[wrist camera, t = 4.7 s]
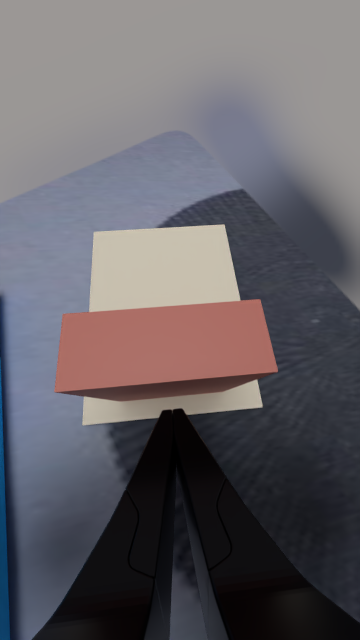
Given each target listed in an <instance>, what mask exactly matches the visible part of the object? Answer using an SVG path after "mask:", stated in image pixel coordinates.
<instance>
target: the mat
mask: <svg viewBox="0 0 360 640" xmlns="http://www.w3.org/2000/svg"><path fill="white" fill-rule="evenodd" d="M231 301H240V297H239V292H238V287H237V282H236V278H235V273H234V268H233V263H232V259H231V254H230V249H229V244H228V240H227V235H226V230H225V225H209V226H191V227H174V228H156V229H138V230H120V231H103V232H94V241H93V257H92V274H91V290H90V307H89V312H97V311H110V310H123V309H137V308H150V307H164V306H177V305H190V304H204V303H217V302H231ZM261 407H263V406H262V401H261V396H260V391H259V387H258V382H257V380H254V381H251V382H249V383H246V384H243V385H240V386H238V387H235V388H232V389H230V390H227V391H224V392H217V393H207V394H196V395H186V396H175V397H165V398H154V399H144V400H133V401H123V402H119V401H112V400H105V399H98V398H91V397H84V406H83V423H82V425H91V424H101V423H111V422H121V421H131V420H141V419H151V418H159V416H160V414H161V412H162V410H167V409H171V410H172V412H173V409H177V408H182V409H183V410H184V411H185V413H186V415H191V414H201V413H211V412H221V411H231V410H241V409H251V408H261Z"/></svg>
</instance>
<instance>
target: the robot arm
mask: <svg viewBox="0 0 360 640" xmlns="http://www.w3.org/2000/svg"><path fill="white" fill-rule="evenodd" d="M176 464H177V472H178V478H179V484H180V489H181V495H182V500H183V506H184V511H185V517H186V522H187V528H188V533H189V539H190V544H191V550H192V555H193V561H194V566H195V572H196V577H197V583H198V588H199V594H200V599H201V605H202V610H203V616H204V621H205V627H206V632H207V638H208V640H360V623H359V622H358V621H356V620H355V619H354V618H353V617H351V616H350V615H349V614H347V613H346V612H345V611H344V610H342V609H341V608H340V607H339V606H337V605H336V604H335V603H334V602H332V601H331V600H330V599H328V598H327V597H326V596H325V595H323V594H322V593H321V592H320V591H318V590H317V589H316V588H315V587H314V586H313V585H311V584H310V583H309V582H308V581H307V580H306V579H305V578H304V577H303V576H302V575H301V574H300V572H299V571H298V570H297V569H296V568H295V567H294V566H293V564H292V563H291V562H290V561H289V560H288V558H287V557H286V556H285V555H284V553H283V552H282V551H281V550H280V548H279V547H278V546H277V545H276V543H275V542H274V541H273V540H272V538H271V537H270V536H269V535H268V533H267V532H266V531H265V530H264V528H263V527H262V526H261V525H260V523H259V522H258V521H257V520H256V518H255V517H254V516H253V514H252V513H251V512H250V511H249V509H248V508H247V507H246V505H245V504H244V503H243V501H242V500H241V498H240V497H239V495H238V494H237V492H236V491H235V489H234V488H233V486H232V485H231V483H230V482H229V480H228V479H226V476H225V474H224V472H223V471H222V469H221V468H220V466H219V465H218V463H217V461H216V460H215V458H214V457H213V455H212V454H211V452H210V451H209V449H208V447H207V446H206V444H205V443H204V441H203V440H202V438H201V436H200V435H199V433H198V432H197V430H196V429H195V427H194V426H193V424H192V422H191V421H190V419H189V418H188V416H187V415H186V413H185V411H184V410H183V409H182V408H177V409H173V412H172V410H171V409H167V410H162V412H161V414H160V416H159V418H158V420H157V422H156V424H155V427H154V429H153V431H152V433H151V435H150V437H149V439H148V441H147V444H146V446H145V448H144V450H143V452H142V454H141V456H140V459H139V461H138V463H137V465H136V467H135V469H134V471H133V473H132V476H131V478H130V480H129V482H128V484H127V486H126V490H125V491H124V492H123V495H122V497H121V499H120V501H119V503H118V505H117V507H116V509H115V511H114V513H113V515H112V517H111V519H110V521H109V523H108V524H107V526H106V528H105V530H104V532H103V533H102V535H101V537H100V539H99V540H98V542H97V544H96V545H95V547H94V549H93V550H92V552H91V554H90V556H89V557H88V559H87V561H86V562H85V564H84V566H83V567H82V569H81V571H80V572H79V574H78V576H77V577H76V579H75V581H74V583H73V584H72V586H71V588H70V589H69V591H68V593H67V594H66V596H65V597H64V599H63V601H62V602H61V604H60V605H59V607H58V608H57V610H56V611H55V612H54V614H53V615H52V616H51V618H50V619H49V620H48V622H47V623H46V624H45V625H44V626H43V628H42V629H41V630H40V631H39V632H38V633H37V634H36V635H35V636H34V638H33V639H32V640H169V637H170V613H171V589H172V565H173V541H174V517H175V493H176Z"/></svg>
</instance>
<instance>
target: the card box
mask: <svg viewBox="0 0 360 640" xmlns="http://www.w3.org/2000/svg"><path fill="white" fill-rule="evenodd" d="M276 372H278V370H277V366H276V362H275V357H274V353H273V349H272V345H271V341H270V337H269V333H268V329H267V325H266V321H265V317H264V313H263V309H262V305H261V301H260V299H258V300H244V301H231V302H217V303H204V304H190V305H177V306H164V307H150V308H137V309H123V310H110V311H97V312H83V313H70V314H63V317H62V326H61V336H60V345H59V354H58V364H57V373H56V382H55V392H56V393H63V394H70V395H77V396H84V397H91V398H98V399H105V400H112V401H119V402H123V401H133V400H144V399H154V398H165V397H175V396H186V395H196V394H207V393H217V392H224V391H227V390H230V389H232V388H235V387H238V386H240V385H243V384H246V383H249V382H251V381H254V380H257V379H259V378H262V377H265V376H268V375H270V374H273V373H276Z"/></svg>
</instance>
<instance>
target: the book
mask: <svg viewBox="0 0 360 640" xmlns="http://www.w3.org/2000/svg"><path fill="white" fill-rule="evenodd" d="M0 640H10V622H9V593H8V563H7V534H6V505H5V476H4V447H3V418H2V388H1V359H0Z"/></svg>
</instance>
